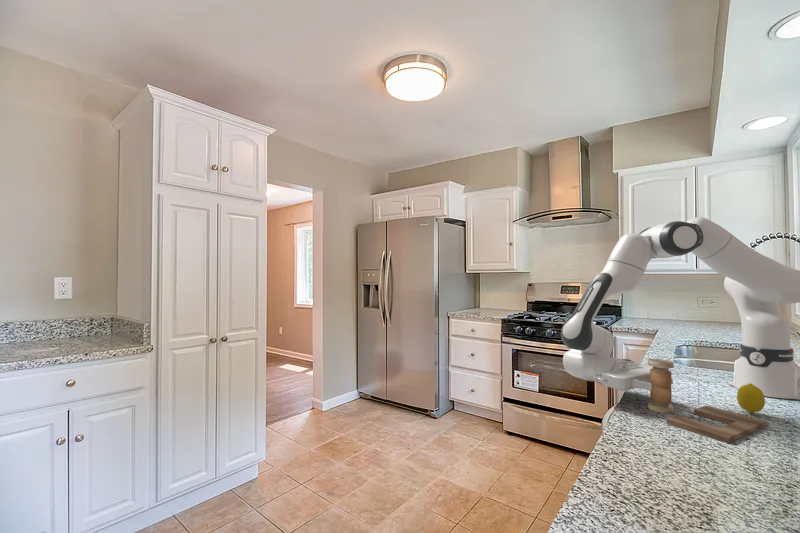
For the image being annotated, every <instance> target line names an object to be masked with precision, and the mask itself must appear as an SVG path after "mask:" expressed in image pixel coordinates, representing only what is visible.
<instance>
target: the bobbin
mask: <svg viewBox="0 0 800 533" xmlns="http://www.w3.org/2000/svg"><path fill="white" fill-rule="evenodd" d="M647 365H649V366H652V367H653V369H650V383H653V384H654V389H653V390H649V398H650V401H649V402H647V408H648V410H650V411H653V412H655V413H660V414H674V413H675V407H674V406H673V405H672V398H673V397H672V385H671V378H672V371H670V369H673V368H674V366H675V363H674V361H672V360H667V359H663V358H649V359H647Z"/></svg>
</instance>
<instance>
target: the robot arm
mask: <svg viewBox="0 0 800 533" xmlns="http://www.w3.org/2000/svg"><path fill="white" fill-rule="evenodd" d="M689 253H691V254H693V255H695V257H696V258H698V259H700V261H702V262H703V263H704V264H706V265H707V266H708V267H709V268H711V269H712V270H713V271H715V272H716V273H717V274H719V275H721V276H723V277H725V278H724V281H723V286H724V290H725V292H726V293H727V294H728V295H729V296H730V297H731V298H732V300H733V301H734V303H735V305H736V308H737V311H738V315H739V319H740V323H741V325H740V326H741V343H740V344H739V355H740V357H739V358H737V359H736V360H735V361H734V366H733V367H734V368H733V380H728V382H727V383H728V385H730V386H733V387H734V388H736V389H737V390H739V388H740V387H741V386H743V385H747V384H749V383H750V384H753V385H754V386H756V387H758V388H759V389H760V390H761V391H762V392H763V394H764V397H769V398H776V399H788V400H791V399H792V400H799V401H800V369H799V368H798V367H797V364H796V365H795V363H794V353H795V349H794V348H792V347H791V325H790V323H789V321H788V320H787V319H786V318H785V317H784V316H782V314H781V313H780V311H779V309H778V307H777V305H790V304H797V303H800V270H798V269H797V268H796V269H795V268H793V267H789V266H787V265H785V264H782V263H781V262H779V261H776V260H775V259H772V258H771V257H768V256H766V255H764V254H762V253H761V252H758V251H756V250H754V249H753V248H751V247H750V246H749V245H747V244H746V243H744V242H743V241H742V240H740V239H739V238H737V237H736V236H735V235H733V234H732V233H731V232H730V231H728V230H727V229H726V228H724V227H722V226H721V225H719V224H717V223H716V222H714V221H712V220H710V219H708V218H707V217H703V216H697V217H692V218H690V219H688V220H686V221H681V220H676V221H670V222H665V223H659V224H657V225H654V226H651V227H647V228H645V229H643V230H642V231H640V232H639V233H626V234H624V235H622V236H621V237H620V238H619V239H618V241H617V243H616V244H615V246H614V247H613V249H612V251H611V253H610V255H609V256H608V259H607V261H606V264H604V265H605V266H604V267H603V269H602V270H601V271H600V273H598V274H597V275H595V276H594V277H593V278H592V280H591V281H590V283H589V285H588V286H587V287H586V289H585V290H584V293H583V294H582V296H581V298H580V299H579V301H578V303H577V305H576V307H575V309H574V310H573V312H572V313H571V314H570V316H568V318H567V319H566V320H565V321H564V323H563V324H562V327H561V330H560V337H561V341H562V344H564V345H565V346H566V348H568V349H569V350H567V351H565V352H564V354H563V357H562V364H563V368H564V369H565V371H566V372H567V373H568V374H570V375H571V376H573V377H575V378H578V379H581V380H584V381H587V382H595V383H597V384H599V385H602V386H606V387H608V388H611V389H614V390H617V391H623V392H625V391H629V390H634V389H638V390H639V389H640V390H647V391H650V390H653V389H654V384H653V383H650V369H653V366H650V365H648V364H645V363H640V362H635V360H634V359H629V358H628V359H627V358H625V359H623V358H617V357H611V355H612V352H613V350H614V347H615V338H614V336H613V333H611V331H610V330H608V329H606V328H604V327H602V326H599V325H596V324H595V323H594V320H595V318H596V315H597V314H598V312H599V311H600V309H601V307H602V306H603V303H604V302H605V300H606V299H607V298H609V297H610V296H612V295H613V296H614V295H616V294H617V295H620V294H627V293H630V292H632V291H634V290H636V289H637V287H638V286H639V284H640V283H641V281H642V279H643V277H644V274H645V272H646V270H647V267H648V265H649V263H650V262H651V260H652V259H667V258H668V259H669V258H673V257H680V256H684V255H687V254H689ZM673 384H674V379H673V378H672V377H671V386H672V385H673Z"/></svg>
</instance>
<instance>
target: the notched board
mask: <svg viewBox="0 0 800 533" xmlns="http://www.w3.org/2000/svg"><path fill="white" fill-rule="evenodd" d="M695 414H696V415H697V416H699V417H702V416H703V418H706V419H710V420H713V421H717V422H719V423H724V424H726V425H723V426H721V427H717V426H714V425H712V424H711V425H710V424H708V423H705V422H700V421H698V420H694V419H692V418H687V417H684V416H681V415H677V414H676V415H673V416H670V417H668V418H666V424H668V425H669V426H670V425H671V426H674V427H677V428H679V429H682V430H683V429H684V430H686V431H689V432H692V433H695V434H698V435H701V436H704V437H708V438H711V439H714V440H717V441H720V442H723V443H725V444H730V443H733V442H735V441H737V440H739V439H742V438H744V437H746V436H748V435H751V434H752V433H755V432H757V431H759V430H761V429H764V428H766V427H768V421H767V420H763V419H761V418H756V417H752V416H748V415H745V414H741V413H737V412H733V411H731V410H726V409H722V408H718V407H714V406H712V405H704V406H701V407H698V408H694V409H693V415H695Z"/></svg>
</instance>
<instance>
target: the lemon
mask: <svg viewBox="0 0 800 533" xmlns="http://www.w3.org/2000/svg"><path fill="white" fill-rule="evenodd" d="M736 401H737V403H738V405H739V406H740V408H742V409H743V410H745V411H746V412H748V414H751V415H752V414H754V413H758V412H760V411H762V410H763V409H764V407H765V404H766V399H765V396H764V394H763V392H762V391H761V390H760V389H759V388H758V387H756V386H754V385H753V384H750V383H749V384H747V385H743V386H741V387H740V388H739V389H737V393H736Z"/></svg>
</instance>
